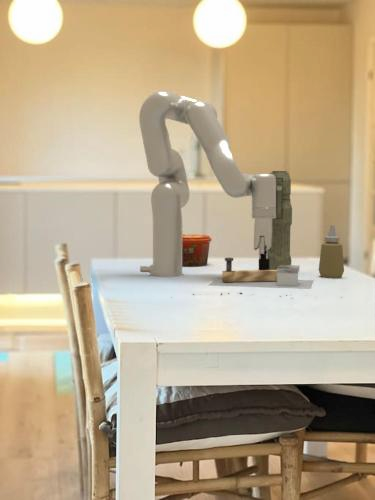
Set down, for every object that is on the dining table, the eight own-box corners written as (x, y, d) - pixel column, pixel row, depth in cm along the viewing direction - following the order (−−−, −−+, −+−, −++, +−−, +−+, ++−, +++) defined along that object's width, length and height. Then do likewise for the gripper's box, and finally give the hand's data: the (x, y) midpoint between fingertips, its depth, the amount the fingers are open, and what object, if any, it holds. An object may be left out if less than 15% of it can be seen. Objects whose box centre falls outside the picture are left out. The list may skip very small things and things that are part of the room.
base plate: (207, 290, 259) (207, 285, 259) (218, 281, 278) (218, 277, 277) (309, 293, 253) (310, 288, 253) (313, 285, 272) (313, 280, 272)
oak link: (224, 282, 263) (224, 258, 263) (220, 280, 267) (220, 257, 266) (296, 280, 269) (296, 257, 268) (291, 278, 273) (292, 256, 272)
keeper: (276, 285, 259) (277, 267, 258) (279, 282, 267) (279, 264, 266) (297, 286, 258) (297, 268, 257) (299, 282, 265) (299, 265, 265)
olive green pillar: (266, 278, 287) (268, 171, 283) (262, 273, 298) (263, 170, 295) (293, 278, 287) (295, 171, 284) (288, 273, 299) (289, 171, 295)
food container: (171, 261, 333) (171, 233, 332) (213, 262, 331) (213, 234, 330) (164, 266, 317) (165, 237, 316) (208, 267, 315) (208, 238, 314)
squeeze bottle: (343, 283, 276) (344, 226, 274) (317, 282, 277) (318, 226, 276) (344, 280, 284) (345, 224, 282) (319, 279, 285) (320, 224, 283)
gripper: (254, 212, 281) (255, 268, 282) (248, 214, 266) (249, 274, 268) (278, 212, 279) (278, 269, 281) (273, 214, 265) (273, 274, 266)
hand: (264, 271), depth 274 cm, fingers closed
